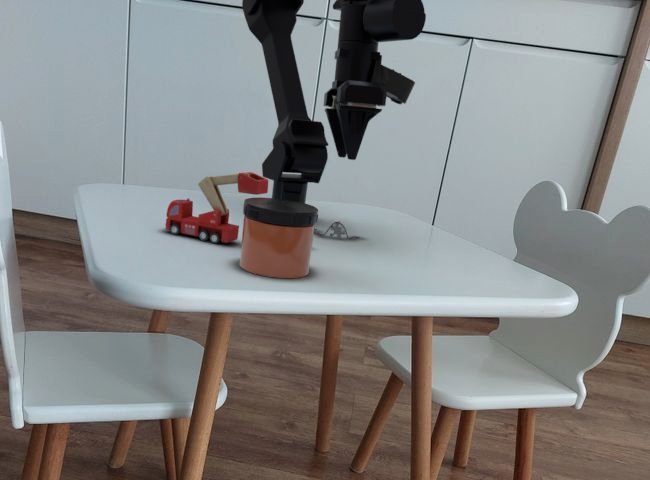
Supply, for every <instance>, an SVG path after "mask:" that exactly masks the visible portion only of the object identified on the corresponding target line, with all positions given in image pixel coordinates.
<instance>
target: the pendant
mask: <svg viewBox="0 0 650 480" xmlns="http://www.w3.org/2000/svg"><path fill="white" fill-rule="evenodd" d="M329 230H330V231H333V232H331V233H329V238H334V236H335V235H336V239H339V240H341V238H342V236H345V235H346V237H347V239H348V240H352V239H353V238H354V239H360V238H361V237H359V236H355V235H354V236H352V237H349V235H348V232H347V229H346V227H345V226H344V225H343V224H342V223H341V221H340V220H338V221H334V222H333V223H332V224H331V225H330V226H329V227H328V229H327V230H326V231H325V232H324V233H323V234H322V233H320V232H315V231H318V229H317V228H314V234H317V235H319V236H325V235H326V234H327V233H328V232H329Z"/></svg>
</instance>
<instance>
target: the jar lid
mask: <svg viewBox="0 0 650 480" xmlns="http://www.w3.org/2000/svg"><path fill="white" fill-rule="evenodd" d="M242 211H243V212H242V213H243V214H242V215H243V216H244V215H245V216H247V217H249V218H252V219H255V220H258V221H262V222H267V223H273V224H280V225H291V226H308V225H313V224H315V225H316V224H317V223H318V220H319V209H318V208H317V207H316V206H315V205H311V204H308V203H306V202H305V203H301V202H296V201H291V200H284V199H276V198H272V197H248V198H245V199H244V203H243V209H242Z"/></svg>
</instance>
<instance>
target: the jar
mask: <svg viewBox="0 0 650 480" xmlns="http://www.w3.org/2000/svg"><path fill="white" fill-rule="evenodd" d="M242 225H243V226H242V236H241V243H240V254H239V255H240V256H239V266H240V268H241V269H242V270H244V271H246V272H248V273H251V274H255V275H258V276H263V277H269V278H275V279H276V278H277V279H298V278H303V277H306V276H308V274H310V273H309V271H310V265H311V258H312V257H311V256H312V249H313V242H314V236H315V233H314V232H315V230H314V229H316V224H313V225H308V226H291V225H280V224H273V223H267V222H262V221H258V220H255V219H252V218H249V217H247V216H245V215H244V214H243V224H242Z"/></svg>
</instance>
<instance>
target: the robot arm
mask: <svg viewBox="0 0 650 480" xmlns="http://www.w3.org/2000/svg"><path fill="white" fill-rule="evenodd" d="M304 2H305V0H242V1H241V6H242V7H241V8H242V12H243V16H244V18H245V22H246V24H247V27H248V29H249V31H250V33H251V34H252V35H253V36H254V37H255V38H256V40H257V41H258V42H259V43H260V44H261V47H262V52H263V56H264V61H265V66H266V70H267V76H268V80H269V85H270V86H269V87H270V89H271V94H272V100H273V104H274V109H275V113H276V114H275V115H276V119H277V124H278V125H277V128H276V130H275V133H274V135H273V138H272V148H273V149H271V150H270V153H268V155H267V156H266V158H265V159H264V161H263V162H262V163H261V171H262V177H263V178H265V179H268V180H270V181H273V182H272V183H273V184H272V185H273V186H272V191H271V192H272V193H271V198H276V199H284V200H291V201H296V202H301V203H305V204H306V201H307V193H308V187H309V186H308V185H309V183H311V184H312V183H314V184H320V182H321V179H322V176H323V174H324V171H325V168H326V166H327V163H328V159H329V154H328V148H327V147H328V146H329V143H328V141H327V137H326V134H325V127H324V125H323V122H321V121H317V120H316V121H315V120H312V119H311V118H310V117H309V114H308V110H307V104H306V100H305V96H304V91H303V86H302V81H301V77H300V73H299V69H298V68H299V67H298V64H297V60H296V55H295V50H294V45H293V39H292V34H293V31H294V29H295V26H296V24H297V14H298V12H299V11H300V9H301V8H302V6H303V5H304ZM332 9H333V10H335V11H340V18H339V28H338V37H337V38H338V39H337V49H336V50H335V51H334V60H335V70H334V71H335V72H334V80H333V81H332V83H331V87H330V88H329V89H328V90H327V91H326V92H325V93H324V96H323V107H326V108H324V112H325V115H326V118H327V121H328V125H329V129H330V132H331V135H332V138H333V142H334V146H335V150H336V154H337V156H338V158H343V159H344V158H346V157H347V159H348V160H349V161H350V160H352V161H355V160H356V159H357V157H358V154H359V151H360V149H361V148H360V147H361V145H362V142H363V138H364V136H365V133H366V131H367V127H368V125H369V122H370V121H371V120H372V119H373V118H375V117H377V116H378V115H379V114H380V113H381V112H382V111H383V109H382V108H377V107H386V104H387V98H388V99H389V100H390V101H391V102H393V103H395V104H398V105H402V104H404V105H405V104H407V101H408V99H409V98H410V95H411V93H412V91H413V89H414V87H415V85H416V82H415V81H414V80H413V79H411V78H409V77H407V76H405V75H404V74H402V73H401V72H398V71H396V70H395V69H393V68H390V67H387V66H386V65H383V64H382V60H383V55H382V54H381V52H380V51H378V50H379V43H388V42H399V41H410V40H411V41H412V40H414V39H416V38H417V37H418V36H419V35H420V34H421V33H422V31H423V30H424V27H425V24H426V21H427V20H426V19H427V14H426V12H425V6H424V3H423V0H335V1H334V2H333V4H332Z"/></svg>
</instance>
